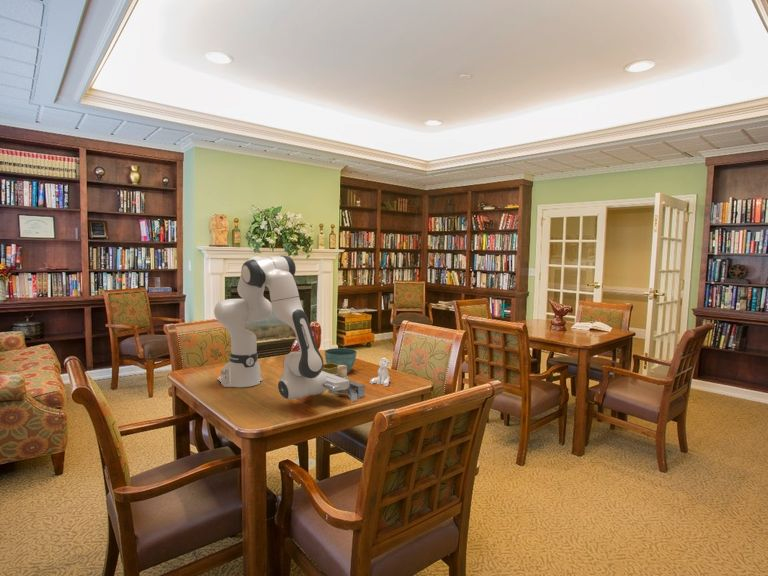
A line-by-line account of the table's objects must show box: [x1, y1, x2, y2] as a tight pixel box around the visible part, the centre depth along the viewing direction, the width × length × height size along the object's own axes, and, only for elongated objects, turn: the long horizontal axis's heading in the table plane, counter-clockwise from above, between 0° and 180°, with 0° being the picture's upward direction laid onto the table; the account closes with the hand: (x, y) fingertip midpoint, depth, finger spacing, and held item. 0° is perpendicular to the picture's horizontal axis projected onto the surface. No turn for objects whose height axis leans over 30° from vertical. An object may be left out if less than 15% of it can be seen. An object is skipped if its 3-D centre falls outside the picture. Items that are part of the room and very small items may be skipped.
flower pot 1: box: [322, 363, 338, 374], centre depth 214 cm, size 9×9×9 cm
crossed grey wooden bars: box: [328, 379, 366, 402], centre depth 200 cm, size 18×8×5 cm, turn 43°
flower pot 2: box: [324, 347, 358, 374], centre depth 237 cm, size 16×16×11 cm
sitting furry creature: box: [369, 357, 392, 387], centre depth 219 cm, size 10×9×12 cm
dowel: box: [337, 365, 348, 394], centre depth 197 cm, size 4×4×11 cm
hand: (343, 377), depth 198 cm, fingers closed on dowel, 4 cm apart
